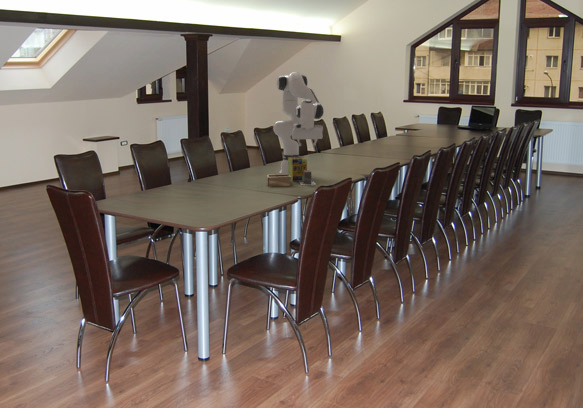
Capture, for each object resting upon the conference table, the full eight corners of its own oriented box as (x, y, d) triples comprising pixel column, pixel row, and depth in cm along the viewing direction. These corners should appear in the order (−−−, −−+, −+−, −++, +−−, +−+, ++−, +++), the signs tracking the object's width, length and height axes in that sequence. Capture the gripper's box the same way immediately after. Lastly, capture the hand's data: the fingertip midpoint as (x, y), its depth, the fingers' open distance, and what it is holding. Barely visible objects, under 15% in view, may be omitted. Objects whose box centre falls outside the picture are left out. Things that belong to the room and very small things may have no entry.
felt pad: (299, 183, 435) (299, 181, 435) (314, 182, 436) (314, 181, 436) (300, 186, 424) (300, 184, 423) (316, 185, 424) (316, 184, 424)
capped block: (303, 182, 433) (303, 170, 431) (310, 182, 433) (310, 170, 431) (304, 184, 426) (304, 172, 425) (311, 183, 427) (311, 171, 425)
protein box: (292, 182, 440) (292, 159, 436) (288, 178, 454) (287, 156, 451) (307, 181, 442) (307, 158, 438) (302, 178, 456) (302, 156, 453)
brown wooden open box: (267, 183, 434) (267, 174, 432) (289, 183, 435) (289, 173, 433) (267, 186, 422) (267, 177, 421) (291, 186, 423) (291, 176, 422)
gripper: (322, 124, 426) (322, 145, 429) (291, 124, 424) (291, 145, 427) (323, 125, 419) (323, 146, 422) (292, 125, 418) (292, 146, 421)
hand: (307, 146), depth 425 cm, fingers open, 8 cm apart
